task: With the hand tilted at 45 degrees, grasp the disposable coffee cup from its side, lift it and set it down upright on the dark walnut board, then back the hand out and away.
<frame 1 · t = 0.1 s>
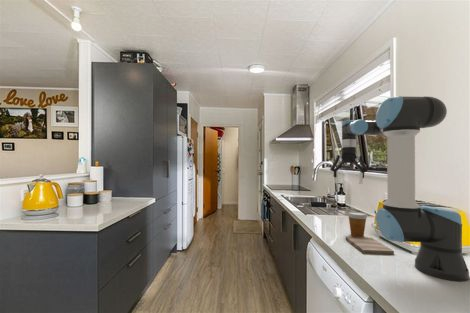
hand: (348, 183, 138), 28 cm above the countertop, tool pointing down, fingers open, 13 cm apart
walnut board: (367, 246, 113), on the countertop
disposable coffee cup: (357, 235, 131), on the countertop
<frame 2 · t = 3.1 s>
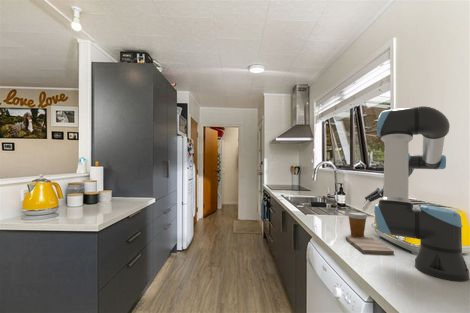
hand: (372, 212, 132), 13 cm above the countertop, tool tilted 45°, fingers open, 13 cm apart
nothing on the countertop moved.
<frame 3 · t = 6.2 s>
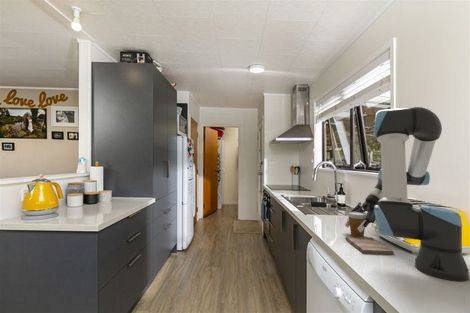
hand: (352, 228, 130), 4 cm above the countertop, tool tilted 45°, fingers closed on disposable coffee cup, 9 cm apart
disposable coffee cup: (357, 235, 131), on the countertop, touching gripper
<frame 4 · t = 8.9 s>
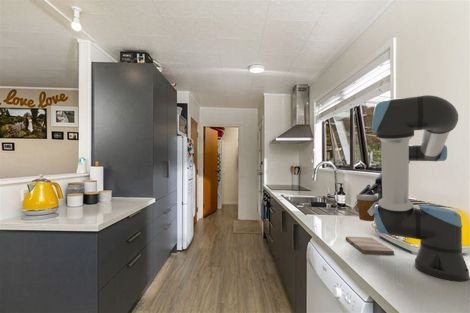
hand: (361, 211, 115), 16 cm above the countertop, tool tilted 45°, fingers closed on disposable coffee cup, 9 cm apart
disposable coffee cup: (366, 220, 116), point 12 cm above the countertop, touching gripper
when the fingers open (7 cm above the countertop, at t = 11.7 s): disposable coffee cup drops 1 cm, resting on walnut board.
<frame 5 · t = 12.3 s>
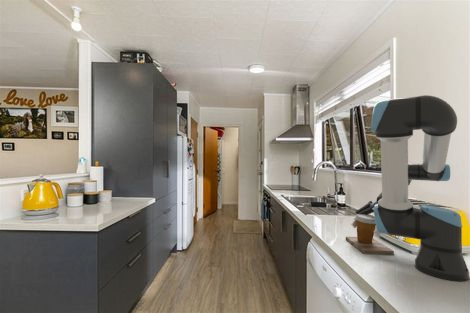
hand: (363, 230, 113), 8 cm above the countertop, tool tilted 45°, fingers open, 13 cm apart
disposable coffee cup: (364, 241, 116), point 2 cm above the countertop, touching gripper, walnut board
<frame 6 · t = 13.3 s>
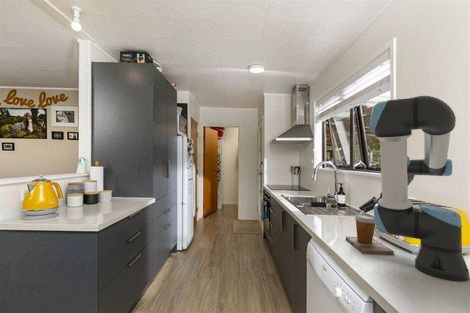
hand: (367, 225, 114), 10 cm above the countertop, tool tilted 45°, fingers open, 13 cm apart
nothing on the countertop moved.
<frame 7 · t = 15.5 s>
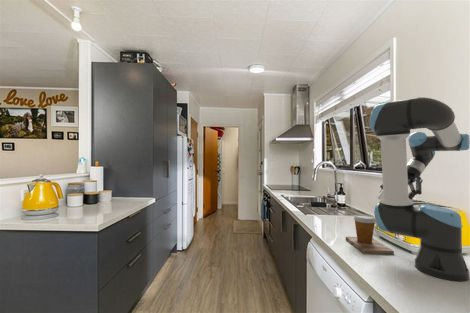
hand: (390, 201, 118), 21 cm above the countertop, tool tilted 45°, fingers open, 13 cm apart
disposable coffee cup: (364, 241, 116), point 1 cm above the countertop, touching walnut board
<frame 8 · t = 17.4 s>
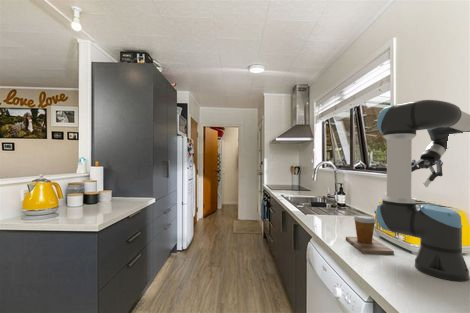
hand: (410, 183, 119), 30 cm above the countertop, tool tilted 45°, fingers open, 13 cm apart
nothing on the countertop moved.
at the end: disposable coffee cup inside the target area on the walnut board (2.6 cm from its centre), point 1.3 cm above the walnut board's base; disposable coffee cup tilted 0°; the gripper is holding nothing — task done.
